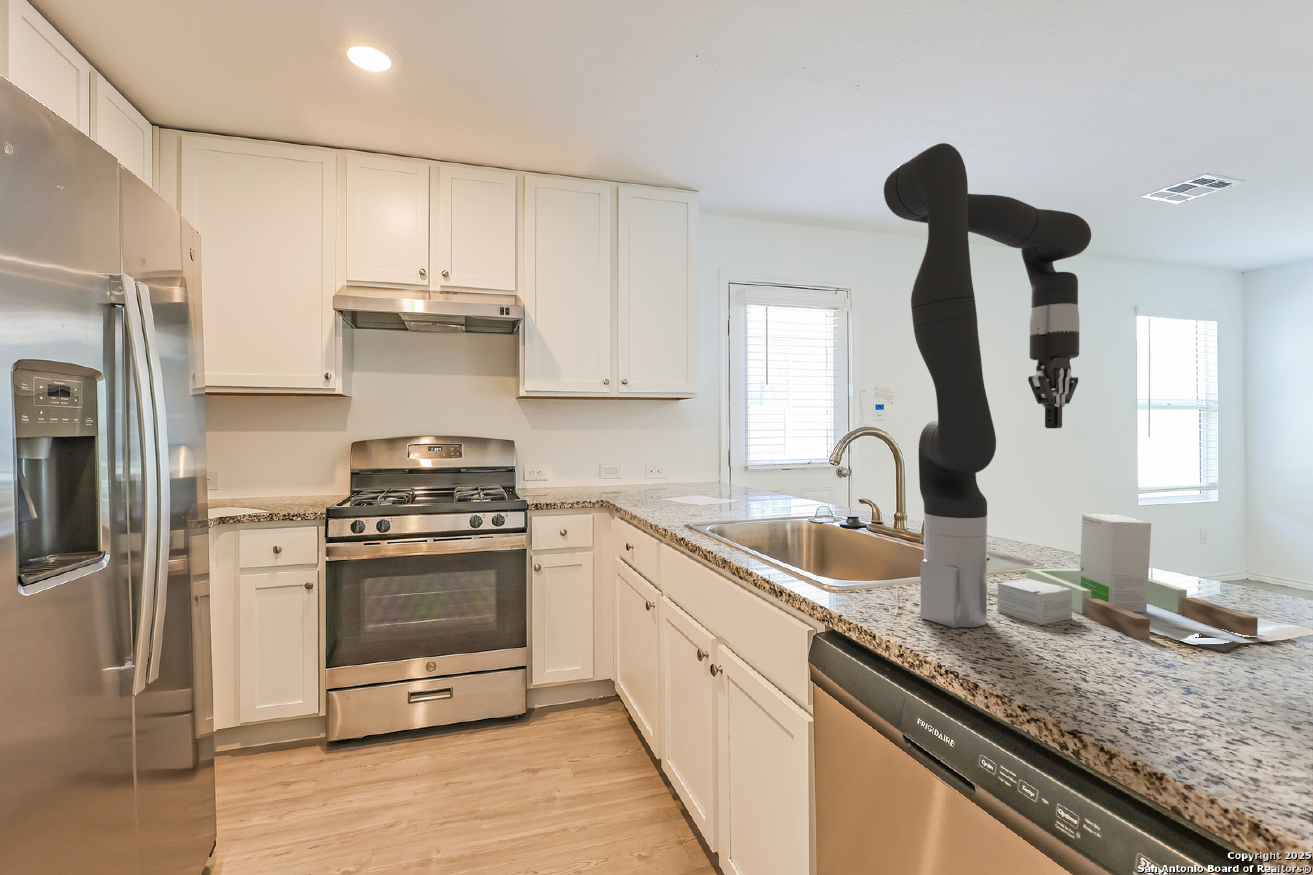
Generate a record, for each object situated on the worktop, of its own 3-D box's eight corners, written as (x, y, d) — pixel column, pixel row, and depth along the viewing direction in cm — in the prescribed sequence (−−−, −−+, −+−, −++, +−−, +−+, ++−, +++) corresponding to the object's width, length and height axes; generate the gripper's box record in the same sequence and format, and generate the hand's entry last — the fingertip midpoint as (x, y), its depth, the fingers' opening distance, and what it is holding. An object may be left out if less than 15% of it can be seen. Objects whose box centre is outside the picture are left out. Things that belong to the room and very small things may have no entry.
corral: (1186, 613, 101) (1186, 589, 101) (1082, 614, 101) (1082, 590, 100) (1117, 589, 116) (1117, 568, 116) (1026, 589, 116) (1026, 569, 115)
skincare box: (1077, 599, 109) (1078, 513, 109) (1114, 599, 109) (1115, 513, 109) (1111, 613, 101) (1112, 520, 101) (1151, 613, 101) (1152, 520, 101)
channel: (1257, 637, 89) (1257, 617, 89) (1136, 639, 89) (1136, 618, 89) (1193, 615, 100) (1193, 597, 100) (1085, 616, 99) (1085, 598, 99)
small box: (1027, 606, 106) (1027, 577, 106) (1073, 619, 98) (1073, 588, 98) (995, 612, 103) (996, 582, 103) (1040, 626, 95) (1040, 594, 95)
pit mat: (1224, 653, 83) (1224, 650, 83) (1179, 641, 88) (1179, 639, 88) (1240, 644, 86) (1240, 642, 86) (1196, 634, 91) (1196, 632, 91)
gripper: (1051, 337, 116) (1050, 428, 116) (1012, 332, 109) (1011, 428, 109) (1095, 332, 109) (1094, 428, 109) (1057, 326, 102) (1056, 428, 103)
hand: (1053, 428), depth 109 cm, fingers closed
